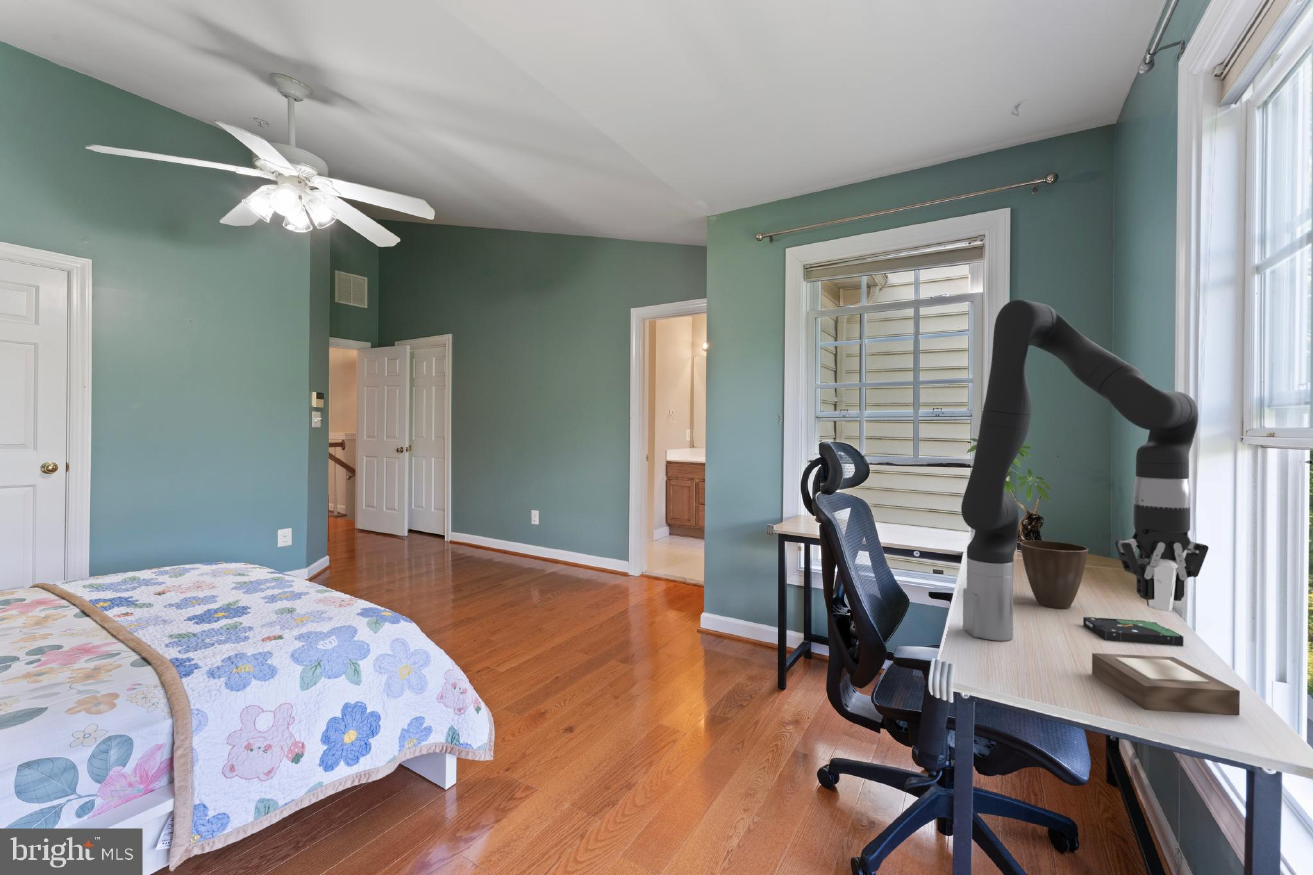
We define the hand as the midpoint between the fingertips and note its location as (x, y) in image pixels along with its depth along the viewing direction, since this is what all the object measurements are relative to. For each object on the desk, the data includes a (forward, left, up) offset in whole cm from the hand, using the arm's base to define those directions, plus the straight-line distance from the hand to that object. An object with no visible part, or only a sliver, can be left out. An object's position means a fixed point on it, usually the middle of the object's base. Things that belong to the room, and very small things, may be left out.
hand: (1160, 598), depth 100 cm
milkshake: (0, 0, -2) cm, 2 cm away
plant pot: (+10, +53, -17) cm, 56 cm away
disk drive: (+15, +30, -18) cm, 38 cm away
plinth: (0, 0, -17) cm, 17 cm away
